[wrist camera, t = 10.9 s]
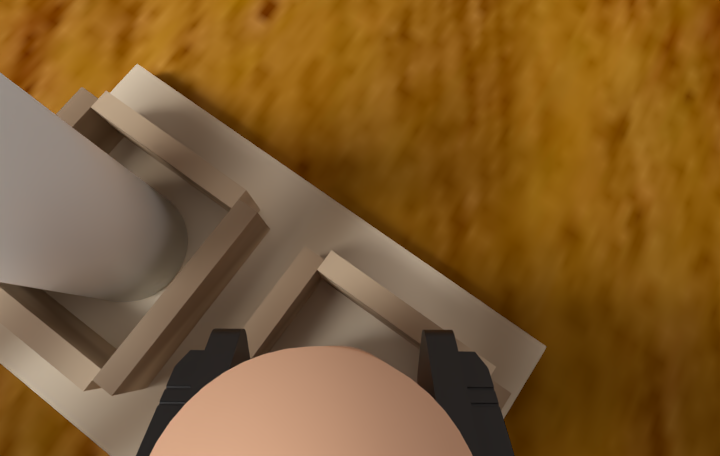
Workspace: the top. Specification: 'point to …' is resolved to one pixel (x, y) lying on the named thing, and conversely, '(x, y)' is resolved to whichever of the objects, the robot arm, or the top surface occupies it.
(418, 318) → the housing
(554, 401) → the top surface
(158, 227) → the cylinder
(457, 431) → the pink tapered cylinder
